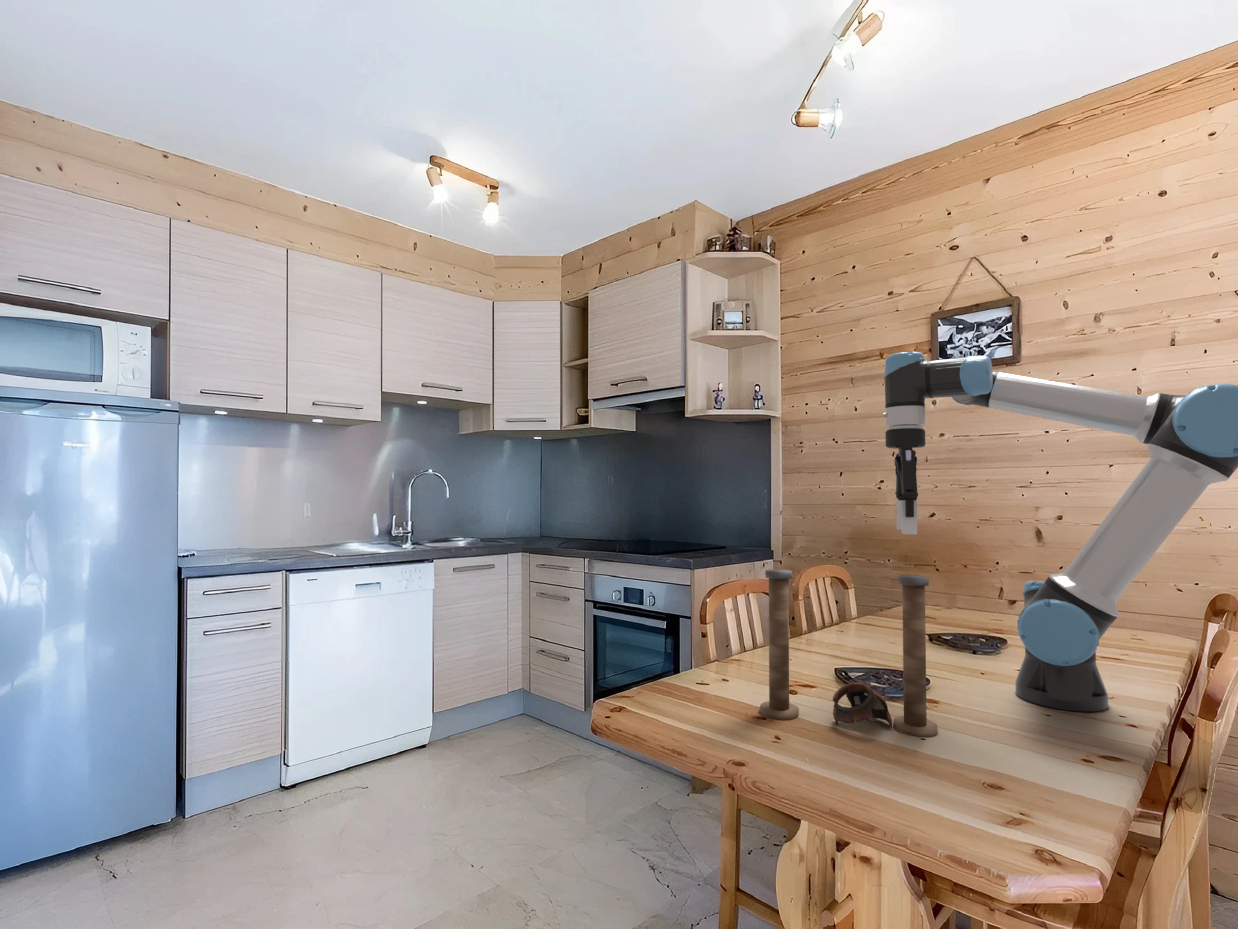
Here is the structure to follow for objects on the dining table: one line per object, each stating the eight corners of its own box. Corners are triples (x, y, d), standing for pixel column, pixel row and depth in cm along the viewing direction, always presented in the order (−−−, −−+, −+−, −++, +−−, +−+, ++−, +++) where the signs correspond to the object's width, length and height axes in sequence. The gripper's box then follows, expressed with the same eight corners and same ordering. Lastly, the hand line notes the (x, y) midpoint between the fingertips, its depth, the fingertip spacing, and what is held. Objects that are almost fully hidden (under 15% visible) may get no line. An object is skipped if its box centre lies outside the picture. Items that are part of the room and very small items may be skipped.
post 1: (800, 709, 122) (799, 569, 123) (797, 721, 115) (796, 574, 116) (762, 704, 124) (761, 567, 125) (757, 716, 118) (756, 572, 119)
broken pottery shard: (905, 738, 109) (886, 699, 108) (853, 759, 111) (833, 721, 109) (880, 697, 121) (863, 661, 120) (833, 717, 122) (815, 682, 121)
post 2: (935, 724, 114) (933, 575, 115) (940, 739, 108) (938, 580, 108) (892, 719, 117) (890, 573, 117) (894, 733, 110) (892, 578, 111)
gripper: (882, 433, 146) (883, 527, 146) (889, 423, 123) (890, 535, 122) (918, 432, 144) (920, 528, 143) (932, 422, 120) (934, 536, 120)
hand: (906, 532), depth 133 cm, fingers open, 13 cm apart
